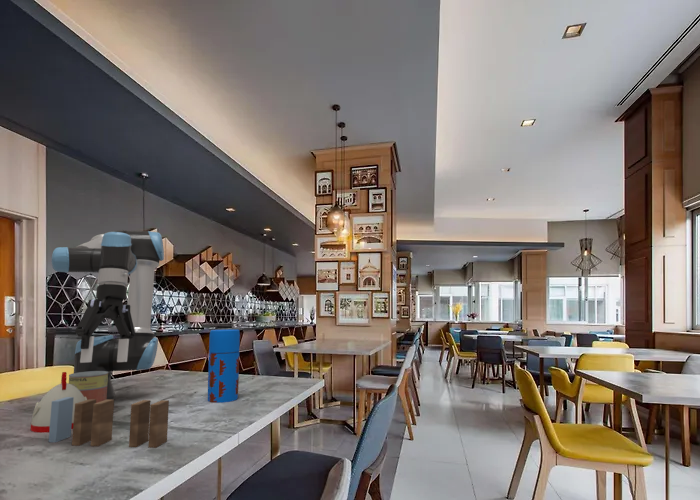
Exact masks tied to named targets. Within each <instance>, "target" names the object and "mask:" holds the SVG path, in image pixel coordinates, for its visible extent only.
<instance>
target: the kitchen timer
mask: <svg viewBox="0 0 700 500" xmlns="http://www.w3.org/2000/svg"><path fill="white" fill-rule="evenodd" d="M67 378H68V377H67V371H62V372H61V381H60V383H59V384H57V385H55V386H53V387H52V388H51V389H49V390H48V391H47V392H46V393H45V394H44V395H43V397H42V398H41V400H40V401H36V403H35V407H34V410H33V412H32V418H31V422H30V431H31V432H33V433H40V434H41V433H44V434H45V433H49V430H50V418H51V405H52V401H55V400H58V399H62V398H66V397H74V399H73V413H72V426H71V430H73V423H74V411H75V403H79V402H82V401H85V400H87V398H86V397H84V396H83V394H82V393H81V392H80V391H79V390H78V389H77V388H76V387H75V386H73V385H71V384H69V382H68V383H67Z"/></svg>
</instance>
